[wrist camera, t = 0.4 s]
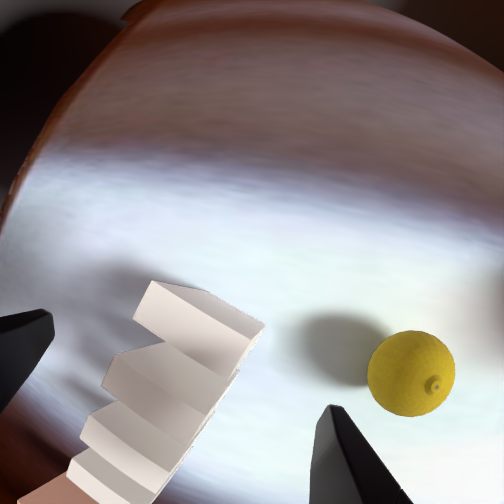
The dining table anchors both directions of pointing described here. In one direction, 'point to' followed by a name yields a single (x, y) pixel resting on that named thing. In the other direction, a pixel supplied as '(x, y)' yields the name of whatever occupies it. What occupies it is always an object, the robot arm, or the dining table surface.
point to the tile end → (199, 325)
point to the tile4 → (166, 388)
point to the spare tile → (58, 493)
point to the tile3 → (134, 444)
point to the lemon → (411, 373)
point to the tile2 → (109, 480)
